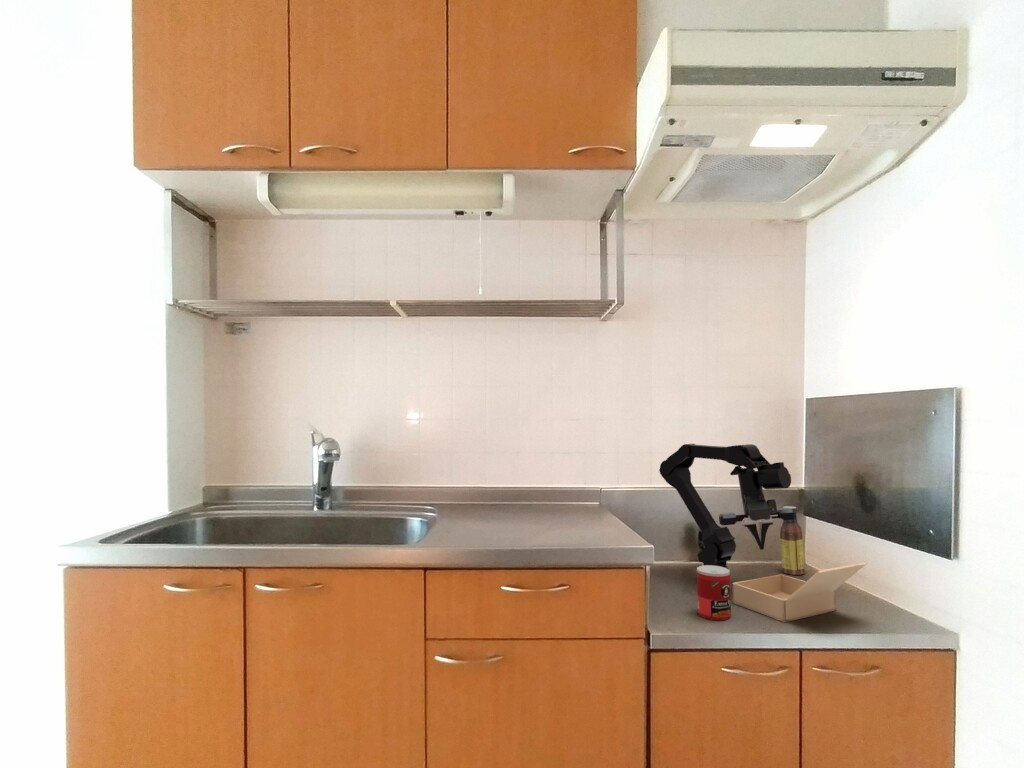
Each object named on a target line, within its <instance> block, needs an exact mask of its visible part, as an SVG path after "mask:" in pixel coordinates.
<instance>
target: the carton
mask: <svg viewBox="0 0 1024 768" xmlns="http://www.w3.org/2000/svg"><path fill="white" fill-rule="evenodd" d="M806 581H807V580H806ZM806 581H805V580H802V579H799V578H797V577H796V578H795V577H792V576H789V575H786V574H781V573H780V574H775V575H769V576H764V577H758V578H751V579H748V580H743V581H737V582H736V581H735V582H732V583H731V604H734V605H737V606H739V607H742V608H745V609H748V610H750V611H754V612H755V613H759V614H760V615H764V616H767V617H769V618H772V619H775V620H777V621H780V622H783V623H788V622H791V621H796V620H800V619H805V618H810V617H813V616H814V617H815V616H818V615H819V616H820V615H822V614H827V613H828V614H829V613H831V612H835V611H837V598H836V594H837V593H836V592H837V591H836V590H835V591H832V592H827V593H823V594H818V595H813V596H808V597H804V598H799V599H794V600H789V601H788V600H787V598H788V597H789V596H791V595H792V594H793V593H794V592H795V591H796V590H797V589H798V588H799V587H801V586H802V585H803V584H804V583H805V582H806Z"/></svg>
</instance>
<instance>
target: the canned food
mask: <svg viewBox="0 0 1024 768" xmlns="http://www.w3.org/2000/svg"><path fill="white" fill-rule="evenodd" d="M730 571H731V570H730V568H729V569H727V568H724V567H720V566H713V565H700V566H697V567H696V601H697V603H696V604H697V605H696V606H697V613H698V615H699V616H700V617H702V618H704V619H707V620H711V621H726V620H729V619H730V618H731V615H732V586H731V572H730Z"/></svg>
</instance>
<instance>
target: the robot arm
mask: <svg viewBox="0 0 1024 768" xmlns="http://www.w3.org/2000/svg"><path fill="white" fill-rule="evenodd" d="M695 458H696V459H706V460H716V461H717V460H718V461H724V462H726V463H728V464H731V465H734V468H733V470H732V471H730V475H731V476H738V483H739V489H740V496H741V502H742V503H741V504H742V509H743V514H736V513H735V512H727V513H726V512H724V513H720V514H719V515H718V521H719V525H718V524H717V522H716V520H715V519H714V518H713V516H712V514H711V513H710V511H709V509H708V507H707V506H706V504H705V503H704V501H703V500H702V498H701V496H700V495H699V493H698V491H697V490H696V488H695V487H694V484H693V482H692V477H691V475H692V474H691V471H690V468H691V467H692V465H694V462H695ZM755 469H757V470H755ZM658 472H659V474H660V476H661V477H662V479H664V481H665V482H666V483H667V484H668V485H669V486H671V487H672V488H674V489H675V490H676V492H677V493H678V495H679V497H680V498H681V500H682V501H683V503H684V505H685V506H686V508H687V510H688V512H689V513H690V515H691V516H692V518H693V520H694V522H695V523H696V525H697V527H698V528H699V530H700V532H701V543H702V544H703V549H701V550H700V551H699V552H698V553H697V555H696V556H697V559H698V562H699V563H702V566H704V565H713V566H720V567H724V568H727V569H729V570H730V567H729V565H727V564H728V562H727V561H731V560H732V557H733V555H734V554H735V552H736V549H737V548H736V547H737V544H736V541H735V539H736V537H734V535H732V533H731V531H730V529H729V528H728V526H732V525H733V526H734V525H735V524H736V523H738V522H741V526H743V527H744V528H747V529H748V531H749V532H750V534H751V536H752V538H753V539H754V541H755V543H756V545H757V547H758V549H759V550H760V551H761V550H762V551H763V550H764V548H765V543H766V537H767V532H768V531H769V530H768V529H769V527H770V526H772V525H774V522H773V521H772V520H773V519H780V520H782V521H783V520H794V519H796V516H797V515H796V516H795V512H794V510H793V509H791V508H781V507H780V508H778V507H777V502H776V500H775V499H767V500H766V499H765V493H764V489H765V490H779V489H780V490H781V489H783V490H784V489H788V488H790V487H791V484H792V477H791V476H792V475H791V473H790V472H789V470H788V468H787V467H786V466H785V462H784V461H782V462H780V461H779V462H773V463H770V462H769V461H768V460H767V458H765V457H764V455H763V454H761V451H760V448H758V446H757V445H755V444H750V443H749V444H747V443H746V444H736V445H730V446H722V445H721V446H719V445H718V446H717V445H707V444H706V445H704V444H696V443H686V444H685V443H684V444H683V445H681V446H680V447H679V448H678V449H677V450H676V451H675V452H673V453H672V454H671V455H669V456H668V457H667V458H666V459H665V460H663V461H661V463H660V465H659V471H658ZM756 521H758V522H757V523H755V522H756ZM757 524H758V527H757ZM720 525H721V526H720ZM722 526H723V527H722ZM757 528H758V529H757Z"/></svg>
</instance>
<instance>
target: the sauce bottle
mask: <svg viewBox="0 0 1024 768" xmlns="http://www.w3.org/2000/svg"><path fill="white" fill-rule="evenodd" d="M782 508H791V509H793V510H794V512H795V516H796V519H794V520H783V519H782V521H783V522H782V524H781V527H780V533H779V537H780V538H779V540H780V555H781V566H782V567H781V568H782V572H783V573H785V574H787V575H793V576H802V575H804V574H805V568H806V567H805V554H804V539H803V531H802V528H801V526H800V524H799V523H798V519H797V517H798V515H797V512H798V507H796V506H790V505H787V506H786V505H784V506H782Z"/></svg>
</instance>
